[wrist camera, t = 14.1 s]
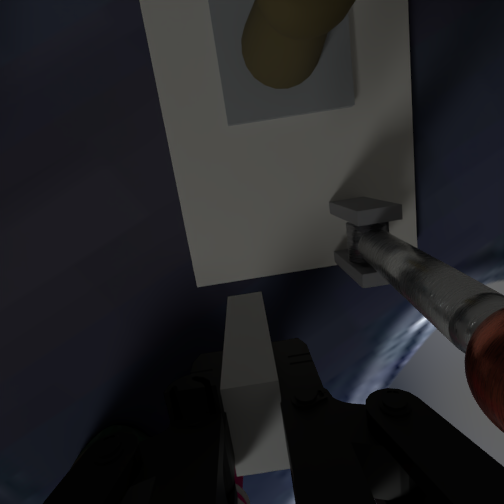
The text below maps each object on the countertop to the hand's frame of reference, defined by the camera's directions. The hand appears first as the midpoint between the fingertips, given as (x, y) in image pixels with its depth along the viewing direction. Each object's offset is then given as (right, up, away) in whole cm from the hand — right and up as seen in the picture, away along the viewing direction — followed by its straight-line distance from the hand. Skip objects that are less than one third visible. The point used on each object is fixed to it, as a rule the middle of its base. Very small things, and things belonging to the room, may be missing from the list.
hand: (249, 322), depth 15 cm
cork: (+2, +19, +10) cm, 21 cm away
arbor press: (+3, +13, +14) cm, 20 cm away
